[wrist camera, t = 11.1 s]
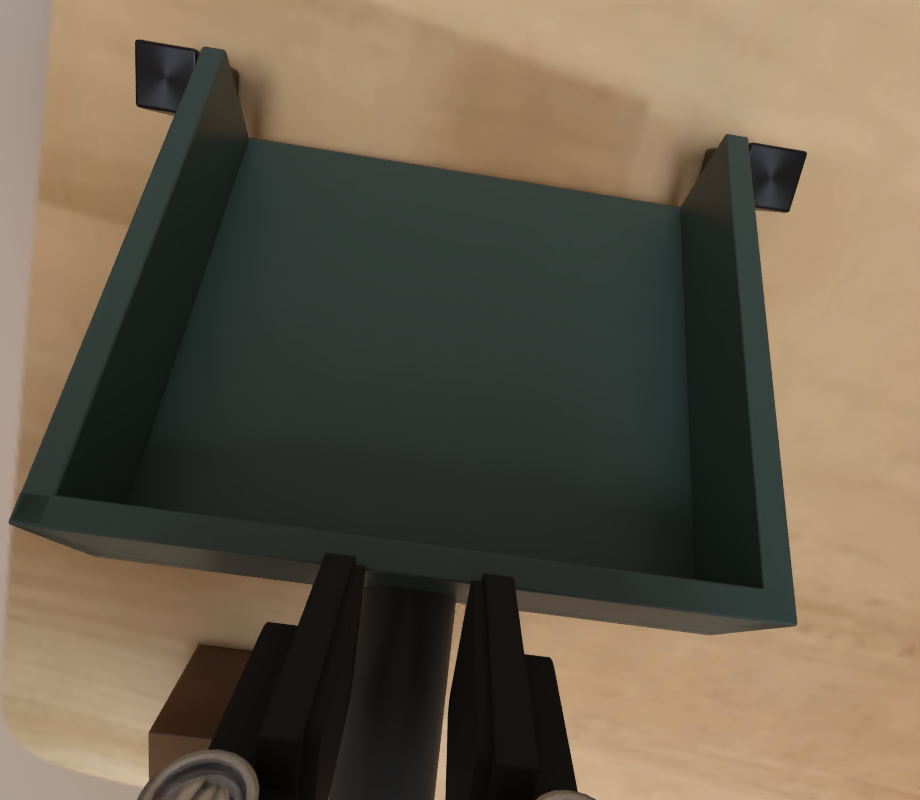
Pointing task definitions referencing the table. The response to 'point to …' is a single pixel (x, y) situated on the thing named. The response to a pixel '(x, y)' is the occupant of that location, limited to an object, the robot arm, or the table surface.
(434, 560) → the dustpan
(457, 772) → the robot arm
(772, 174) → the pair of dark blocks
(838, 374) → the table surface
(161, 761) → the block
